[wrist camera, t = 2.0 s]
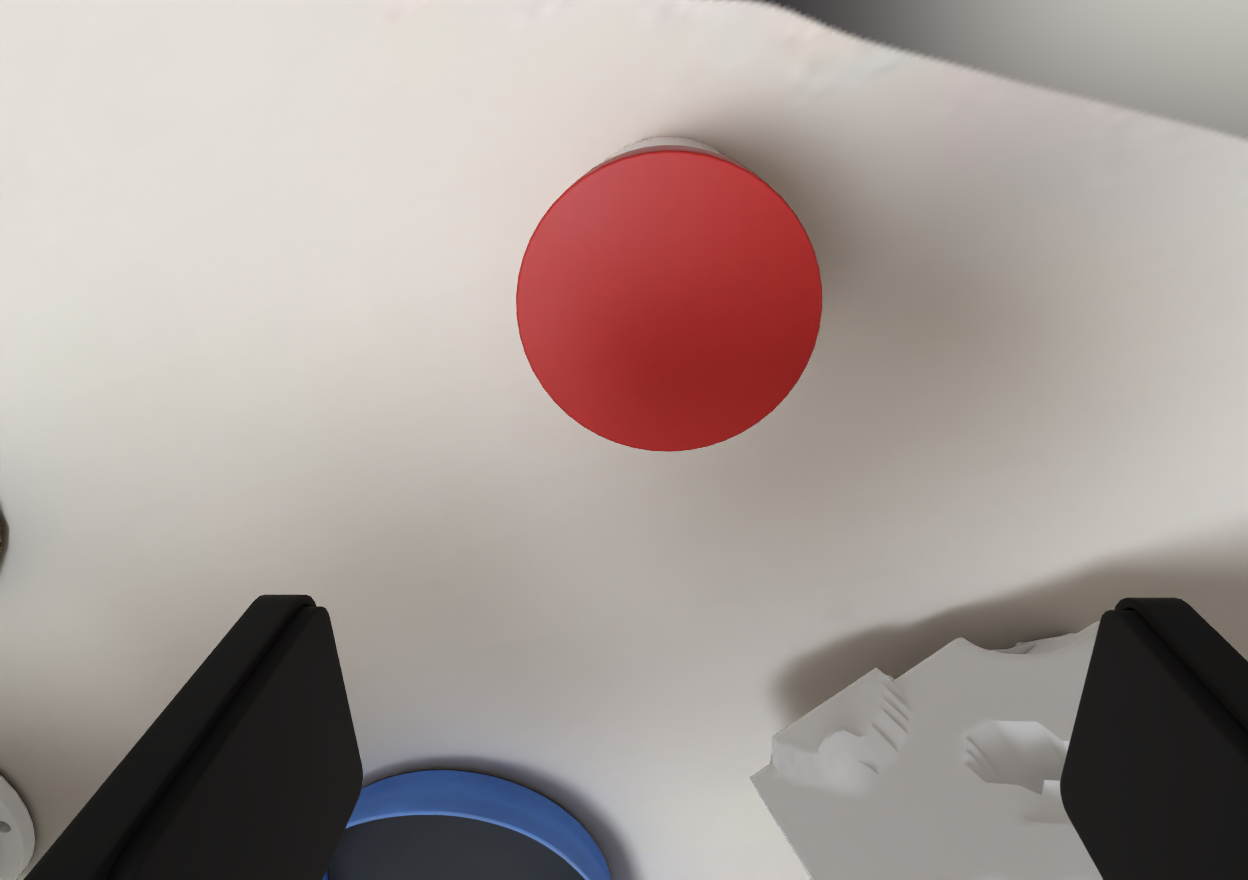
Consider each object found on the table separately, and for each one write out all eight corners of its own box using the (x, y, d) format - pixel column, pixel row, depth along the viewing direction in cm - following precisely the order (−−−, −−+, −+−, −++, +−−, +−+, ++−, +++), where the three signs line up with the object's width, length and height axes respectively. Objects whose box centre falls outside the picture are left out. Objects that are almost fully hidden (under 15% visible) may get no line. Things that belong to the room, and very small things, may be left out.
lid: (539, 419, 23) (526, 455, 21) (516, 150, 20) (497, 156, 18) (798, 414, 23) (814, 450, 20) (813, 139, 20) (832, 143, 18)
